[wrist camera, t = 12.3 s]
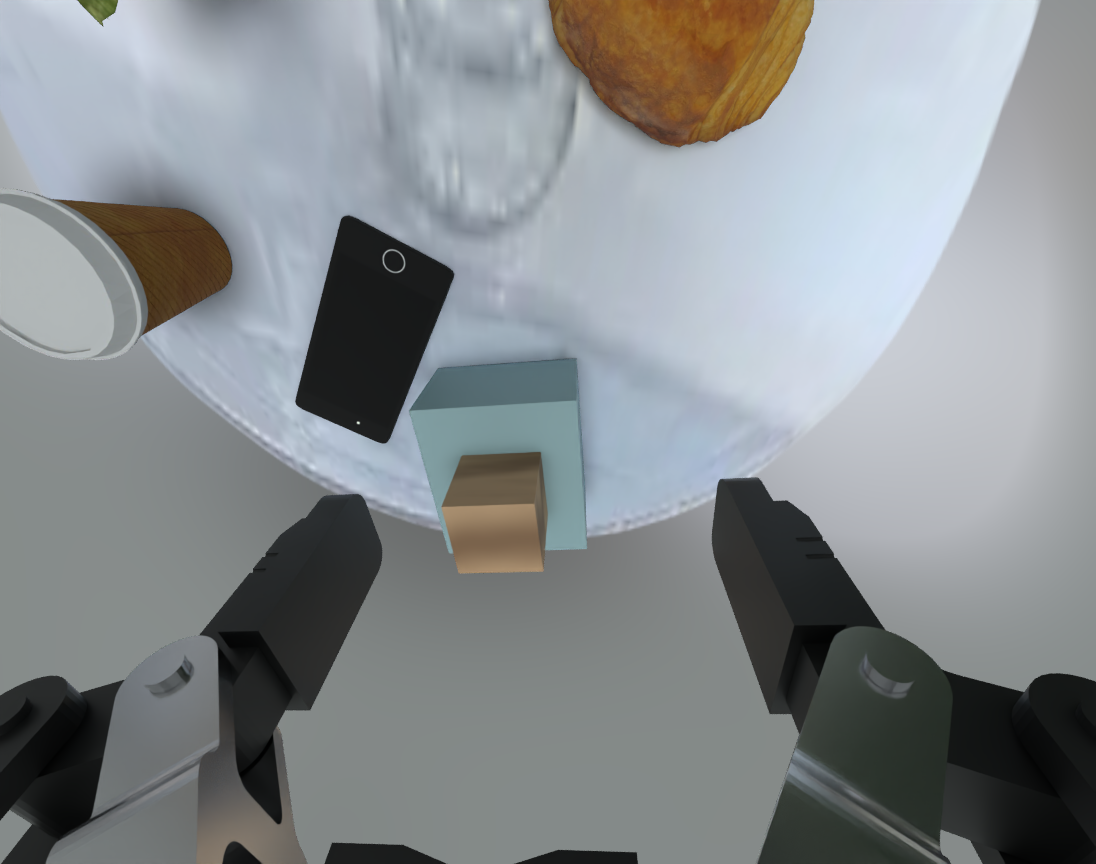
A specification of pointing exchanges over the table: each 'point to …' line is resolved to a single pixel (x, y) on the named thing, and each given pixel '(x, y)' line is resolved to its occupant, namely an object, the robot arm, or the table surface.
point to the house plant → (100, 8)
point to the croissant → (684, 59)
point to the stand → (508, 433)
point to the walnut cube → (497, 513)
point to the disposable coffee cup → (100, 272)
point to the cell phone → (370, 329)
